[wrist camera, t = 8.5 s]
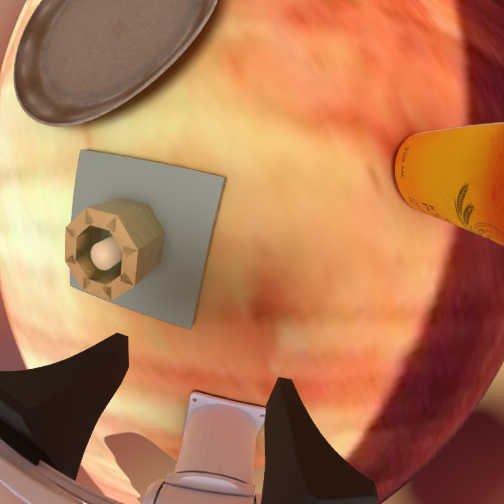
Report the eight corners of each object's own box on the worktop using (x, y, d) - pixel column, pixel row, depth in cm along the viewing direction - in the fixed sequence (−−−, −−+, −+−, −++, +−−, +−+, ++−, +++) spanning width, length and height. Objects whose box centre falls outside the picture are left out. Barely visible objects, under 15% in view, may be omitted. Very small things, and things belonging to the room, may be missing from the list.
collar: (157, 281, 20) (133, 309, 16) (97, 261, 20) (65, 282, 16) (169, 209, 18) (141, 222, 14) (104, 193, 18) (67, 202, 14)
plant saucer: (234, 100, 17) (227, 88, 14) (28, 153, 19) (5, 155, 16) (225, -67, 11) (220, -86, 8) (50, -4, 13) (34, -12, 10)
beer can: (393, 214, 19) (554, 303, 4) (384, 133, 17) (559, 107, 3) (453, 207, 18) (599, 269, 4) (446, 134, 16) (602, 133, 2)
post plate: (193, 323, 22) (177, 360, 17) (76, 281, 22) (44, 304, 17) (226, 177, 19) (212, 180, 14) (87, 149, 18) (47, 149, 14)
